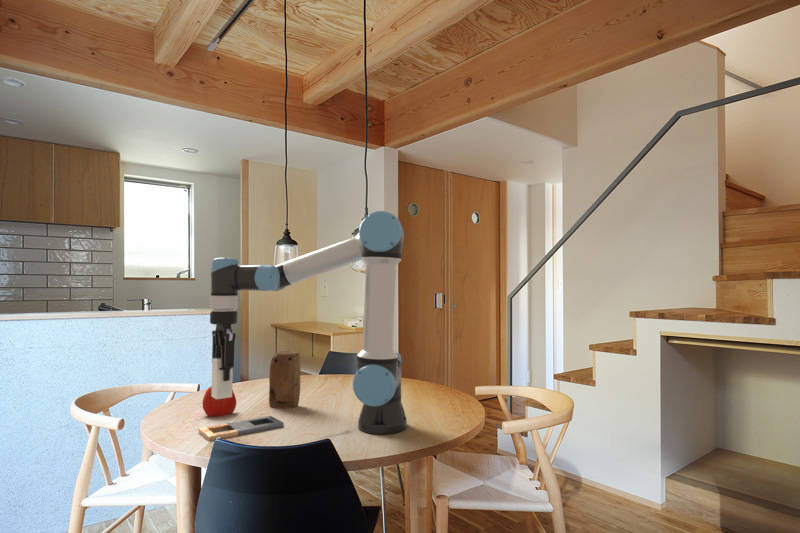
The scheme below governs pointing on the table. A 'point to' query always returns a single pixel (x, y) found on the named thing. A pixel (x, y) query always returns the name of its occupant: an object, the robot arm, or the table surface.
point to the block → (284, 380)
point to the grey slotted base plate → (240, 428)
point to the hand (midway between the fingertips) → (221, 390)
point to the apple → (218, 404)
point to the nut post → (216, 380)
